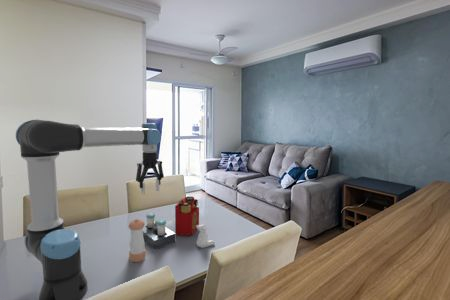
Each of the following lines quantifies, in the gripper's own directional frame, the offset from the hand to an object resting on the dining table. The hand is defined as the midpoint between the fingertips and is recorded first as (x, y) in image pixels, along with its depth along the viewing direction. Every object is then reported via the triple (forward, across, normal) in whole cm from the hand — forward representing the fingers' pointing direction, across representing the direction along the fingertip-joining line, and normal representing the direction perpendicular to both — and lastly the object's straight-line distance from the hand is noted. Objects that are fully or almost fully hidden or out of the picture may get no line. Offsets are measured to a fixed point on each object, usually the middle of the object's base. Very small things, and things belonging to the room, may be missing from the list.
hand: (150, 192), depth 135 cm
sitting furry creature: (+26, +16, -28) cm, 41 cm away
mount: (+25, 0, -6) cm, 26 cm away
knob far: (+20, 0, 0) cm, 20 cm away
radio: (+26, +19, -9) cm, 33 cm away
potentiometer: (+20, 0, -6) cm, 21 cm away
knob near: (+20, 0, -12) cm, 23 cm away
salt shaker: (+25, -15, -17) cm, 34 cm away
